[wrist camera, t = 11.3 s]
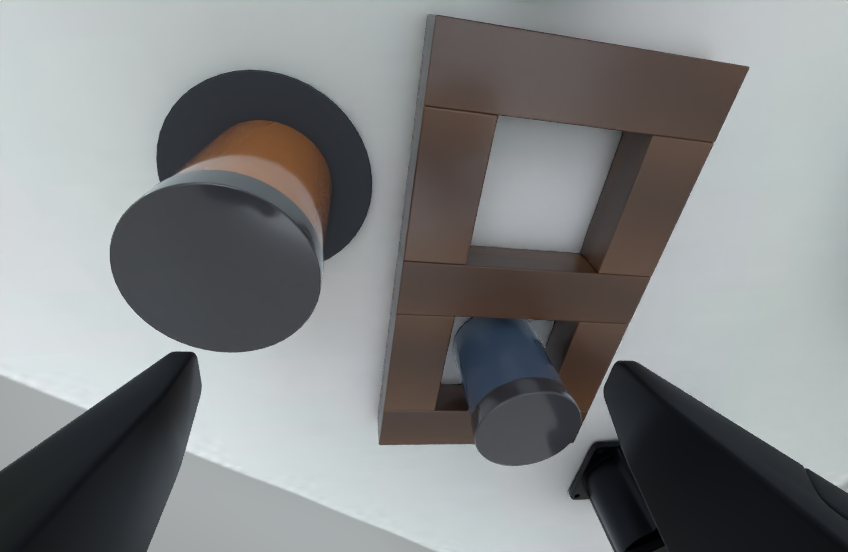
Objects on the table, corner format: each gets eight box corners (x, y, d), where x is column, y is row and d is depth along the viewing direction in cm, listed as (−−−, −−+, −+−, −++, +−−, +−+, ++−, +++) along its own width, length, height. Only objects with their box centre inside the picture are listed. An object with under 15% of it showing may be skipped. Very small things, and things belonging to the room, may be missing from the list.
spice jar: (523, 375, 28) (563, 465, 22) (444, 374, 27) (465, 467, 22) (545, 309, 25) (597, 392, 20) (459, 305, 24) (487, 391, 19)
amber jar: (332, 244, 21) (319, 355, 14) (208, 236, 20) (131, 350, 13) (337, 125, 18) (323, 192, 11) (193, 108, 17) (85, 171, 10)
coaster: (364, 272, 23) (364, 276, 22) (176, 261, 21) (173, 265, 21) (380, 85, 18) (380, 87, 18) (141, 54, 16) (137, 55, 16)
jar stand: (560, 416, 30) (573, 443, 29) (377, 417, 28) (378, 445, 26) (712, 61, 19) (750, 66, 17) (427, 14, 17) (435, 14, 15)
